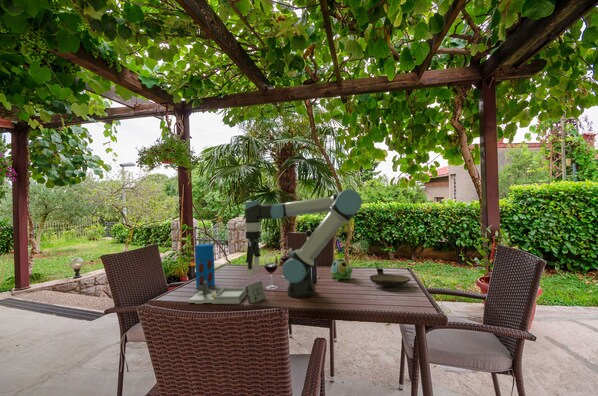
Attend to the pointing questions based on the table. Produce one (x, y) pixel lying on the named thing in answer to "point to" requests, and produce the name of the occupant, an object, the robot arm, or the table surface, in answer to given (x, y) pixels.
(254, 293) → the electrical switch
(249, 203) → the robot arm
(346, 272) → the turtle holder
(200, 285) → the breaker off
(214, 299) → the board
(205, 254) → the blue tall box
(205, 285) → the breaker tagged
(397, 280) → the oil lamp
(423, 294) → the table surface
